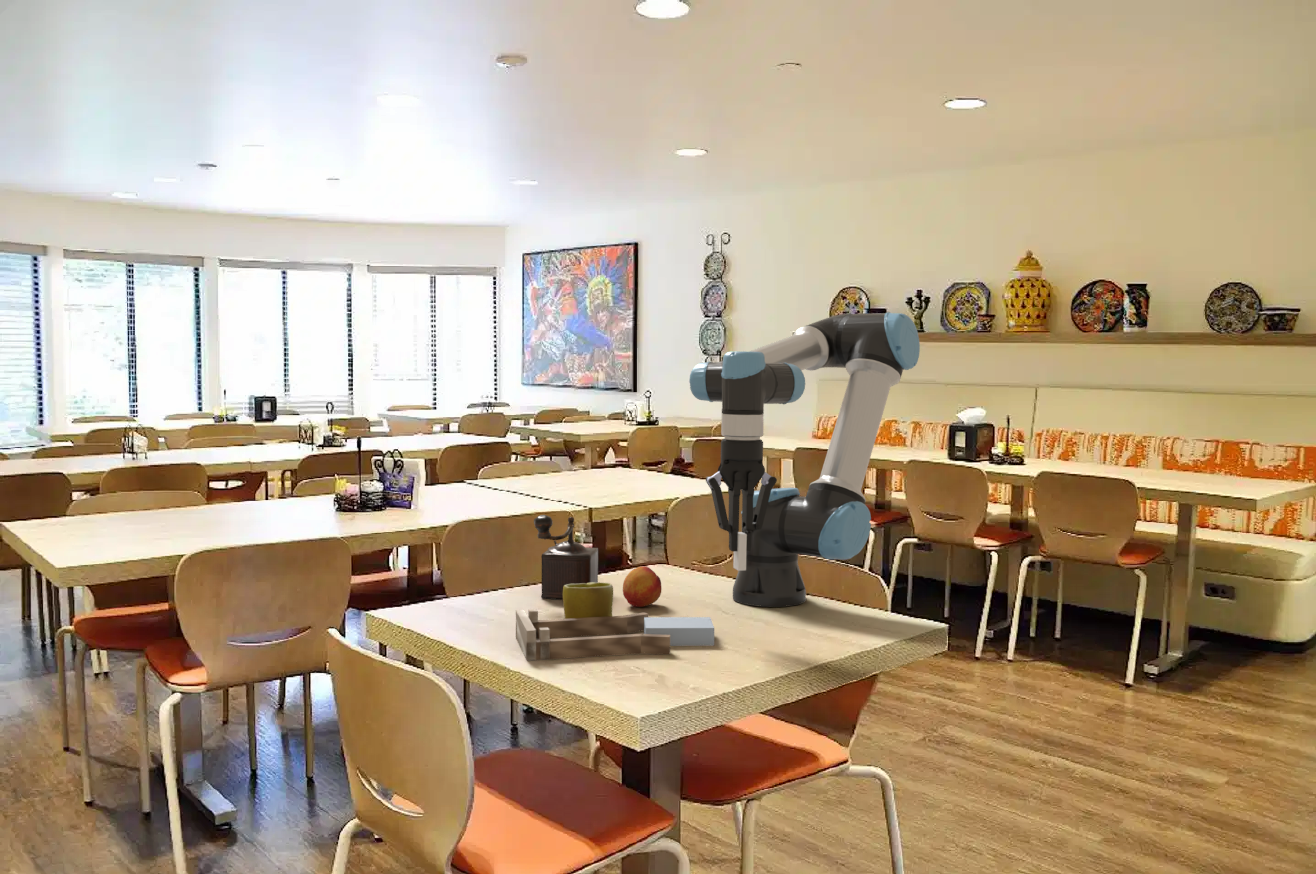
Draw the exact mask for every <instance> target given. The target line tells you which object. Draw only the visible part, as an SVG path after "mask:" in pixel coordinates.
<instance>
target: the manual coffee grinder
mask: <svg viewBox="0 0 1316 874" xmlns="http://www.w3.org/2000/svg"><path fill="white" fill-rule="evenodd" d="M567 521H568V523H567V529H566V531H565V532H564V533H563V534H560V535H552V534H551V532H550V529H551V527H552V525H553V522H554V521H553V519H552V517H551V516H549V515H547V514H546V515H545V514H541V515H538V516H536V517H535V518H533V523H534V524H533V525H534V528H536V529H537V531H538V532H537V538H538V539H542V540H551V541H553V543H554V546H553V545H552V546H549V547H548V548H547V550H546V551H544V552H543V553H542V554H541V594H540V598H542V599H548V600H559V601H560V600H562V601H563V587H564V585H567V584H580V583H585V584H586V583H591V582H595V583H598V582H599V548H598V547H585V545H584V544H581V543H579V542H577V541H574V534H573V533H574V528H575V523H574V522H575V518H574V517H573V516H569V517H568V519H567ZM567 537H568V539H567V540H565V541H561V542H559V543H557V541H560V540H564V539H565V538H567Z"/></svg>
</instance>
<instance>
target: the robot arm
mask: <svg viewBox="0 0 1316 874" xmlns="http://www.w3.org/2000/svg"><path fill="white" fill-rule="evenodd" d="M918 332H919V331H918V329H917V326H916V325H915V323H914V320H913V319H912V318H910V316H909V315H907V314H905V313H900V312H897V313H895V312H890V311H888V312H885V313H884V312H883V313H844V314H837V315H833V316H829V317H826V318H824V319H820V320H818V321H815V322H812V323H809V324H806V325H804V326H801V327H799V328H797V329H796V330H795V331H794V332H793V334H792V335H790V336H788V337H785V338H782V339H779V340H776V341H774V342H771V343H769V344H765V345H762V346H760V347H757V348H754V349H752V350H749V351H746V350H745V351H744V350H743V351H735V350H734V351H727V352H726V353H724V355H723V357H722V360H721V361H715V362H714V361H713V362H712V361H706V362H699V363H697V364H696V365H695V366H694V367H693V368H692V370H691V371H690V375H689V381H688V382H689V389H690V392H691V394H692V395H693V397H694V398H696V399H697V400H700V401H704V402H705V401H707V402H710V403H715V402H716V403H717V402H720V403H721V420H720V421H721V426H720V427H721V428H720V429H721V431H720V434H721V436H723V437H724V438H722V439H721V441H720V464H719V466H718V468H717V472H715V473H713V475H711V476H706V478H705V483H706V484H707V485H708V487H709V488H710V491H711V495H712V501H713V506H714V510H715V514H716V515H715V516H716V518H717V523H718V524H717V525H718V527H719V528H720V529H721V530H723V531H726V532H727V533H728V548H729V551H731V552H733V565H732V567H733V569H735V570H737V575H736V576H735V580H734V582H733V583H734V584H733V586H732V600H734V601H735V602H737V603H740V604H743V605H747V606H755V607H768V608H771V607H772V608H776V607H777V608H778V607H779V608H781V607H782V608H783V607H792V606H797V605H801V604H804V603H805V602H806V601H807V590H806V585H805V583H804V579H803V577H802V574H801V573H802V572H801V570H800V566H799V562H798V561H799V555H804V556H812V557H817V558H824V559H826V560H841V561H842V560H849V559H850V560H851V559H853V557H855V556H857V555H858V554H859V553H861V551H862V550H863V549H864V547H865V545H866V543H867V541H868V539H869V536H870V533H871V526H872V523H871V522H870V521H871V520H872V517H871V511H870V509H869V507H868V506H867V505H866V501H867V499H866V497H865V496H864V494H863V493H862V487H863V485H864V480H865V479H866V478H865V477H866V474H867V471H868V466H869V464H870V460H871V456H872V453H873V449H874V446H875V443H876V440H877V435H878V431H879V429H880V425H881V421H882V418H883V415H884V411H885V408H886V404H887V400H888V397H889V394H890V390H891V387H893V386H895V385H898V384H899V382H900V381H901V379H902V375H903V371H904V370H905V371H909V370H911V369H914V367H915V366H916V365H917V364H918V361H919V357H920V351H921V350H920V348H921V346H920V337H919V333H918ZM822 368H824V369H825V368H836V369H837V368H842V369H845V370H846V372H847V374H848V375H849V379H848V382H847V384H846V385H847V386H846V389H845V392H844V396H843V399H842V402H841V404H840V405H841V406H840V408H839V413H838V415H837V417H836V422H835V425H834V428H833V432H832V435H831V439H830V442H829V446H828V447H827V448H828V449H827V452H826V455H825V458H824V462H823V465H822V469H821V472H820V476H819V477H818V479H816V480H815V481H812V482H810V484H808V489H807V492H806V495H805V496H803V495H802V496H801V493H800V490H799V488H797V487H779V488H774V487H775V486H776V483H777V480H778V479H777V477H776V476H772V475H771V474H769V473H767V472H766V468H765V466H764V461H763V459H764V441H763V440H762V439H761V438H762V437H763V436H764V416H765V415H764V411H765V410H764V405H765V404H767V405H786V404H790V403H791V404H792V403H794V402H796V401H798V400H799V399H800V398H801V397H802V395H804V393H805V390H806V389H805V388H806V378H805V375H804V372H803V371H804V370H807V371H817V370H819V369H822ZM721 480H722V481H723V482H724V484H725V485H726V486H727V492H728V515H727V510H726V506H725V499H724V495H723V492H722V487H721V485H722V481H721ZM760 480H761V481H760ZM759 482H760V484H761V486H760V489H759V490H755V488H756V486H757V484H758V483H759ZM741 494H742V495H741ZM740 497H742V504H741V505H742V506H741V511H740V499H741V498H740ZM740 514H741V531H740Z"/></svg>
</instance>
